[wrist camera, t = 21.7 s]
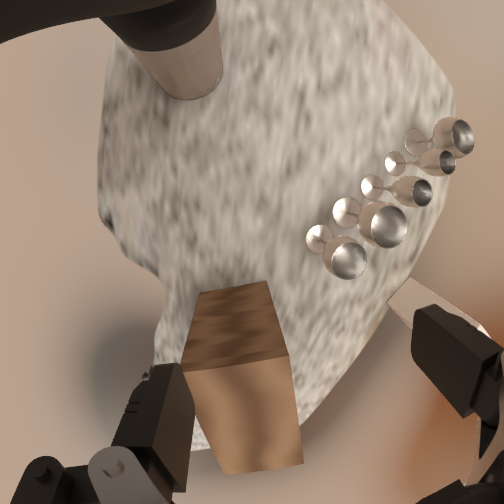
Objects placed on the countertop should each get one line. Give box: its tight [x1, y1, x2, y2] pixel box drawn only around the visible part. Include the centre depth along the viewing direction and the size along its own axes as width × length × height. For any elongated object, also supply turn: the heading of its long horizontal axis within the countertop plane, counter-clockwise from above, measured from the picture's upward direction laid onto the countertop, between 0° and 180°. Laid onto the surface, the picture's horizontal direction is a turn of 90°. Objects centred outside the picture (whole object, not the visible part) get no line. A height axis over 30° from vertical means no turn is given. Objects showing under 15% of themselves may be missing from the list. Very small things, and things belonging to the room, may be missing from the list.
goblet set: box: [306, 117, 474, 280], centre depth 34 cm, size 28×6×13 cm, turn 134°
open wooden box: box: [180, 281, 304, 475], centre depth 36 cm, size 10×18×20 cm, turn 10°
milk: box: [387, 278, 490, 338], centre depth 35 cm, size 6×6×22 cm
